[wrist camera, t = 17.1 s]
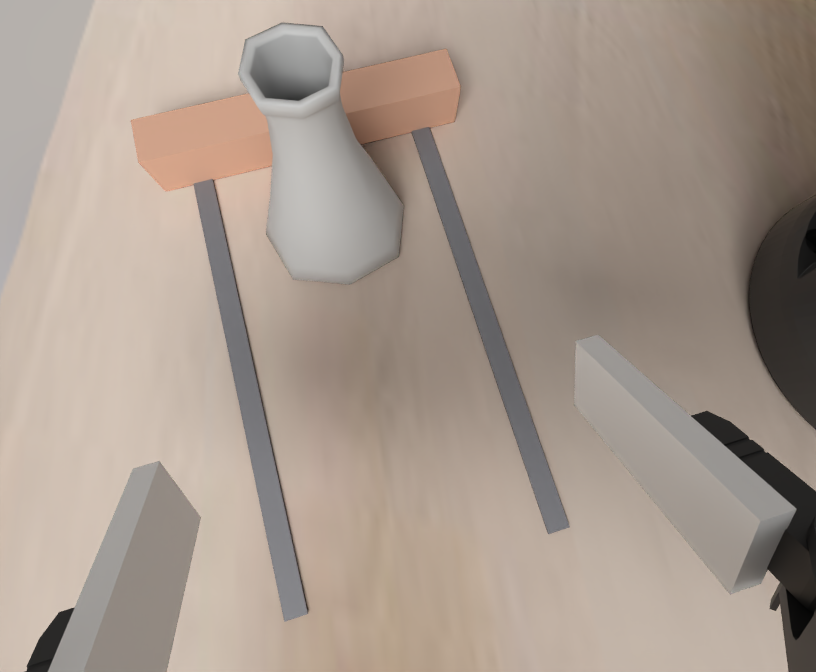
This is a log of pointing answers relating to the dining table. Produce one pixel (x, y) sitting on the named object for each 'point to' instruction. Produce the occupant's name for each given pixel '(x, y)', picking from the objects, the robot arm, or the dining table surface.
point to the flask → (317, 161)
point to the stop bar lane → (199, 165)
